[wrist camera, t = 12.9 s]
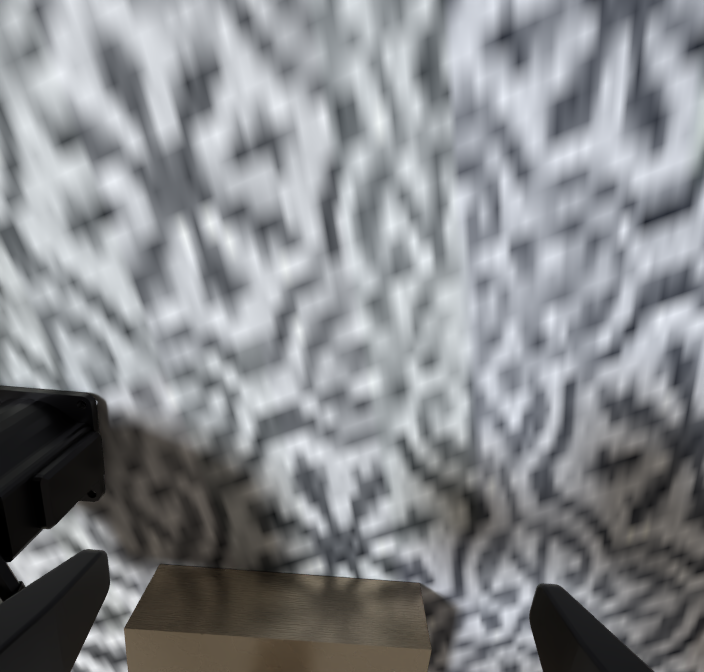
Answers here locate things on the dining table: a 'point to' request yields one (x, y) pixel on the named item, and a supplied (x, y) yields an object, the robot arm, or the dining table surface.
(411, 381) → the dining table surface
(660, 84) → the dining table surface
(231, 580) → the grey square block
